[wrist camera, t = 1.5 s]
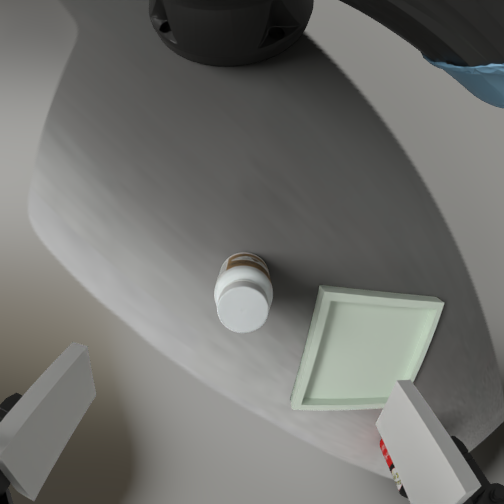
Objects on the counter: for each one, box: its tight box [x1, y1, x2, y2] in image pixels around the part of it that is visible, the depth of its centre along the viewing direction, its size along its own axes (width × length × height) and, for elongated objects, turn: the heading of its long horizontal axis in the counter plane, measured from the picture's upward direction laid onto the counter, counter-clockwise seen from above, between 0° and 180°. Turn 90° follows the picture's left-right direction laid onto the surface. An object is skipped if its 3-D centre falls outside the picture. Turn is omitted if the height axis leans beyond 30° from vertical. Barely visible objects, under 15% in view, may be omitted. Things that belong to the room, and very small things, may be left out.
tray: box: [290, 285, 444, 410], centre depth 28 cm, size 14×14×2 cm
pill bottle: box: [214, 252, 273, 333], centre depth 23 cm, size 4×4×8 cm
